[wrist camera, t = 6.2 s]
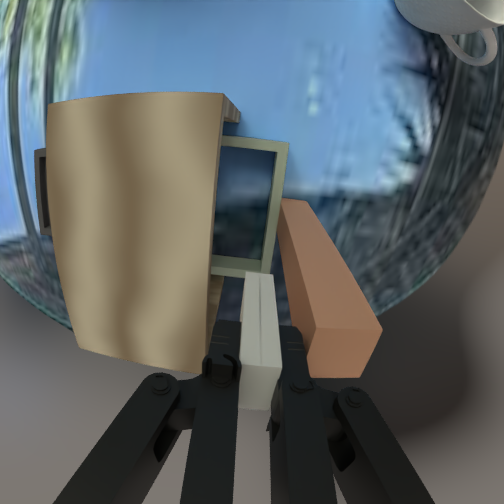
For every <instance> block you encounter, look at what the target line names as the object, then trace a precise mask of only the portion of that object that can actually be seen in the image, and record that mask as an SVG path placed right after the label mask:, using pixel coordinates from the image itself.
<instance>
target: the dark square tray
mask: <svg viewBox="0 0 504 504" xmlns="http://www.w3.org/2000/svg"><path fill="white" fill-rule="evenodd" d="M34 163H35V186H36V199H37V209H38V218H39V226H40V233H41V235H49V236H52V231H51V223H50V214H49V204H48V191H47V170H46V148H42V149H37V150H34Z"/></svg>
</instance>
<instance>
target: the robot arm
mask: <svg viewBox="0 0 504 504" xmlns="http://www.w3.org/2000/svg"><path fill="white" fill-rule="evenodd" d="M270 406H271V417H270V420H269V423H268V425H267V429H266V431H269V433H270V471H271V504H337V498H336V491H335V484H334V477H335V479H336V481H337V483H338V485H339V487H340V490H341V491H342V494H343V496H344V498H345V500H346V502H347V504H435V503H434V501H433V499H432V498H431V496H430V494H429V493H428V491H427V489H426V488H425V486H424V484H423V483H422V481H421V479H420V478H419V476H418V474H417V473H416V471H415V469H414V468H413V466H412V464H411V463H410V461H409V459H408V458H407V456H406V454H405V453H404V451H403V450H402V448H401V446H400V445H399V443H398V441H397V440H396V438H395V437H394V435H393V433H392V432H391V430H390V429H389V427H388V425H387V424H386V422H385V421H384V419H383V418H382V416H381V414H380V413H379V411H378V410H377V408H376V406H375V405H374V403H373V402H372V400H371V398H370V397H369V395H368V394H367V393H366V392H365V391H363V390H362V389H360V388H356V387H346V388H344V389H342V390H341V391H340V392H339V393H337V392H333V391H329V390H326V389H323V388H321V387H319V386H318V385H317V384H316V382H315V380H313V379H312V378H311V377H310V373H309V368H308V362H307V357H306V352H305V347H304V341H303V336H302V333H301V332H300V331H299V330H298V328H297V327H295V326H283V325H278V317H277V307H276V297H275V288H274V279H273V275H271V274H262V273H254V272H246V275H245V283H244V291H243V298H242V306H241V314H240V322H236V321H227V320H219V321H218V322H217V323H216V324H215V325H214V326H213V330H212V336H211V341H210V346H209V351H208V355H206V356H205V357H204V359H203V361H202V373H201V374H200V375H199V376H197V377H195V378H193V379H188V380H178V381H177V379H176V378H175V377H173V376H172V375H170V374H166V373H154V374H151V375H149V376H148V377H146V378H145V379H144V380H143V382H142V383H141V384H140V386H139V387H138V388H137V390H136V391H135V392H134V394H133V395H132V396H131V398H130V399H129V400H128V402H127V403H126V404H125V406H124V407H123V408H122V410H121V411H120V412H119V414H118V415H117V416H116V418H115V419H114V420H113V422H112V423H111V425H110V426H109V427H108V429H107V430H106V431H105V433H104V434H103V435H102V437H101V438H100V439H99V441H98V442H97V444H96V445H95V446H94V448H93V449H92V450H91V452H90V453H89V454H88V456H87V457H86V459H85V460H84V461H83V463H82V464H81V466H80V467H79V468H78V470H77V471H76V472H75V474H74V475H73V476H72V478H71V479H70V481H69V482H68V483H67V485H66V486H65V488H64V489H63V490H62V492H61V493H60V495H59V496H58V497H57V499H56V500H55V501H54V503H53V504H142V502H143V501H144V499H145V497H146V495H147V494H148V492H149V490H150V488H151V486H152V485H153V483H154V481H155V479H156V478H157V475H158V474H159V472H160V470H161V469H162V467H163V465H164V463H165V461H166V459H167V458H168V456H169V454H170V452H171V450H172V449H173V447H174V445H175V443H176V441H177V439H178V437H179V435H180V434H181V432H182V430H186V429H192V433H191V439H190V444H189V451H188V456H187V462H186V468H185V474H184V481H183V486H182V493H181V499H180V504H232V503H233V487H234V469H235V451H236V434H237V433H236V432H237V418H238V417H237V416H238V408H239V409H251V410H265V411H269V409H270ZM333 474H334V477H333Z"/></svg>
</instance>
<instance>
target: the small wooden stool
mask: <svg viewBox="0 0 504 504" xmlns="http://www.w3.org/2000/svg"><path fill="white" fill-rule="evenodd" d="M240 113H241V112H240V111H239V110H238V109H237V108H236V107H235V105H234V104H233V103H232V102H231V101H230V100H229V99H228V98H227V97H226V96H225V94H224V93H208V92H145V93H127V94H115V95H105V96H96V97H88V98H81V99H74V100H68V101H62V102H57V103H52V104H48V116H47V136H46V170H47V191H48V204H49V214H50V223H51V231H52V238H53V245H54V251H55V256H56V262H57V267H58V272H59V277H60V281H61V286H62V290H63V294H64V298H65V302H66V306H67V310H68V314H69V317H70V321H71V324H72V327H73V331H74V334H75V337H76V340H77V343H78V346H79V348H82V349H86V350H89V351H93V352H96V353H100V354H103V355H107V356H111V357H115V358H119V359H123V360H127V361H132V362H136V363H141V364H146V365H150V366H155V367H160V368H166V369H171V370H176V371H183V372H188V373H195V374H201V373H202V361H203V359H204V357H205V356H206V355H208V351H209V346H210V341H211V336H212V330H213V326H214V325H215V321H216V316H217V311H218V307H219V302H220V297H221V292H222V287H223V283H224V276H223V275H214V274H211V262H212V246H213V231H214V217H215V205H216V193H217V181H218V170H219V160H220V150H221V140H222V131H223V122H235V123H239V121H240Z"/></svg>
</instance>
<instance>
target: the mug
mask: <svg viewBox="0 0 504 504" xmlns="http://www.w3.org/2000/svg"><path fill="white" fill-rule="evenodd" d="M394 1H395V4H396V7H397V9H398V10H399V12H400V13H401V14H402V16H403V17H404V18H405V19H406V20H407V21H409V22H410V23H411V24H412V25H414V26H416V27H418V28H420V29H422V30H425V31H428V32H431V33H437V34H439V35H440V36H441V38H442V39H443V40H444V42H445V43H446V45H447V46H448V47H449V49H450V50H451V51H452V52H453V53H454V54H455V55H456V56H457V57H458V58H459V59H460V60H462V61H463V62H465V63H467V64H470V65H474V66H482V65H486V64H488V63H490V62H491V61H492V60H493V59H494V58H495V56H496V53H497V42H496V38H495V35H494V32H493V30H492V29H491V28H493V27H497V26H501V25H504V0H394ZM479 31H480V33H481V34H482V36H483V38H484V40H485V42H486V47H487V49H486V53H485V55H484V56H483V57H481V58H473V57H471V56H469V55H467V54H466V53H465V52H464V51H462V50H461V49H460V47H459V46H458V45H457V44H456V43H455V41H454V40H453V38H452V36H451V35H459V34H467V33H473V32H479Z"/></svg>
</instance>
